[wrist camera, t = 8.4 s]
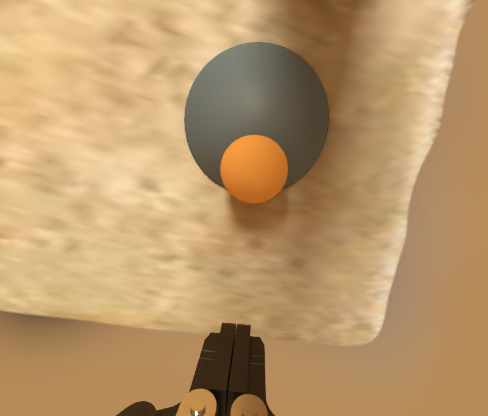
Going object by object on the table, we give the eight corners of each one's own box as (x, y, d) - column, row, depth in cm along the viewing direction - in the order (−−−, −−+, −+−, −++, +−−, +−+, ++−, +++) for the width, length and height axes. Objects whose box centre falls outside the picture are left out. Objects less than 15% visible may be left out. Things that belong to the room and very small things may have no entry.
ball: (252, 217, 17) (246, 216, 23) (312, 168, 18) (291, 180, 24) (202, 155, 17) (209, 170, 23) (263, 107, 18) (255, 134, 24)
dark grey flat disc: (262, 6, 20) (262, 5, 20) (357, 129, 22) (358, 128, 22) (156, 118, 23) (155, 118, 23) (248, 220, 25) (248, 221, 25)
